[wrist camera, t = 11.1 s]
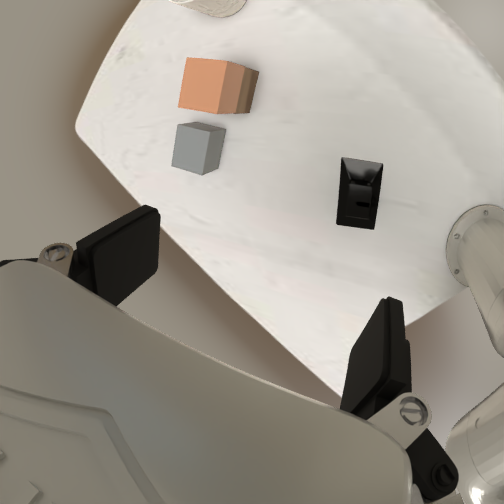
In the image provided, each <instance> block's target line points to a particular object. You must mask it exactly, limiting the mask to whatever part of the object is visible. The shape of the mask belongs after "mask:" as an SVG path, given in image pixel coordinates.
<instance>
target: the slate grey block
mask: <svg viewBox="0 0 504 504" xmlns="http://www.w3.org/2000/svg"><path fill="white" fill-rule="evenodd" d="M225 133H226V129H223V128H219V127H215V126H211V125H207V124H202V123H198V122H193V123H185V124H178V126H177V132H176V138H175V145H174V151H173V158H172V166H173V167H176V168H180V169H183V170H186V171H189V172H193V173H196V174H199V175H204V174H206V173H209V172H211V171H213V170H215V169H218V167H219V162H220V157H221V152H222V147H223V142H224V137H225Z"/></svg>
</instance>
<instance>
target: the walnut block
mask: <svg viewBox="0 0 504 504" xmlns="http://www.w3.org/2000/svg"><path fill="white" fill-rule="evenodd" d="M258 75H259V72H258V71H255V70H252V69H249V68H245V70H244V75H243V79H242V84H241V89H240V94H239V98H238V103H237V108H236V113H234V114H238V113H250V108H251V104H252V100H253V95H254V91H255V87H256V83H257V79H258Z"/></svg>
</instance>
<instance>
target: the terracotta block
mask: <svg viewBox="0 0 504 504" xmlns="http://www.w3.org/2000/svg"><path fill="white" fill-rule="evenodd" d="M244 70H245V66H242V65H239V64H236V63H232V62H229V61H223V60H213V59H202V58H188V57H187V59H186V64H185V69H184V75H183V80H182V86H181V92H180V98H179V104H178V107H179V108H185V109H191V110H197V111H203V112H208V113H214V114H226V113H236V108H237V103H238V98H239V94H240V89H241V84H242V79H243V75H244Z"/></svg>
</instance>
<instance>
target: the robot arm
mask: <svg viewBox="0 0 504 504" xmlns="http://www.w3.org/2000/svg"><path fill="white" fill-rule="evenodd" d="M484 210H485V212H484ZM160 218H161V216H160V214H159V213H158V210H157V209H156V208H153V207H151V206H148V205H143V206H141V207H139V208H137V209H135V210H133V211H132V212H130V213H128V214H126V215H124V216H122V217H120V218H118V219H117V220H115V221H113V222H111V223H109V224H108V225H106V226H104V227H102V228H100V229H99V230H97V231H95V232H93V233H92V234H90V235H88V236H86V237H85V238H83V239H81V240H80V241H78V242H77V243H76V246H77V249H76V250H75V251H73V248H72V247H71V246H70V245H69V244H65V243H54V244H51V245H49V246H47V247H45V248H44V249H43V250H42V251H41V253H40V255H39V258H31V259H17V260H3V261H1V262H0V504H464V503H463V500H462V498H463V499H464V501H465V503H466V504H504V383H502V384H501V385H500V386H499V387H498V388H497V389H496V390H495V391H493V392H492V393H491V394H490V395H489V396H488V397H486V398H485V399H484V400H483V401H482V402H480V403H479V404H478V405H477V406H475V407H474V408H473V409H472V410H471V411H469V412H468V413H467V414H466V415H464V416H463V417H462V418H461V419H460V420H459V421H458V422H457V423H456V424H455V425H454V427H453V428H452V430H451V431H450V433H449V436H448V438H447V442H446V448H445V451H444V449H443V448H442V447H441V445H440V444H439V443H438V441H437V440H436V439H435V437H434V436H433V435H432V434H431V432H430V431H429V430H428V428H427V427H428V426H429V424H430V423H431V418H432V414H431V409H430V407H429V405H428V403H427V402H426V401H425V400H424V399H423V398H422V397H421V396H419V395H417V394H415V393H412V387H411V386H412V384H411V358H410V343H409V341H408V340H406V339H405V325H404V313H403V303H402V301H400V300H397V299H394V298H392V297H387V299H384V298H382V299H381V301H380V302H379V304H378V306H377V308H376V309H375V311H374V313H373V314H372V316H371V318H370V320H369V321H368V323H367V325H366V326H365V328H364V330H363V331H362V333H361V335H360V336H359V338H358V339H357V341H356V343H355V344H354V346H353V348H352V350H351V353H350V357H349V363H348V369H347V374H346V380H345V385H344V390H343V395H342V401H341V405H340V409H338V408H335V407H332V406H330V405H327V404H324V403H322V402H319V401H317V400H314V399H311V398H308V397H306V396H303V395H300V394H297V393H295V392H293V391H290V390H288V389H285V388H282V387H280V386H278V385H275V384H272V383H270V382H268V381H265V380H263V379H260V378H258V377H256V376H253V375H251V374H249V373H246V372H244V371H241V370H239V369H237V368H235V367H233V366H230V365H228V364H226V363H224V362H222V361H219V360H217V359H215V358H213V357H211V356H208V355H206V354H204V353H202V352H200V351H198V350H196V349H194V348H192V347H190V346H188V345H186V344H184V343H182V342H180V341H178V340H176V339H174V338H172V337H170V336H168V335H166V334H165V333H163V332H161V331H159V330H157V329H155V328H153V327H151V326H149V325H148V324H146V323H144V322H142V321H140V320H139V319H137V318H135V317H133V316H132V315H129V314H128V313H126V312H125V311H123V310H121V309H119V308H117V307H116V306H117V305H118V304H120V303H121V302H122V301H123V300H124V299H125V298H127V297H128V296H129V295H130V294H131V293H132V292H134V291H135V290H136V289H137V288H138V287H139V286H140V285H142V284H143V283H144V282H145V281H146V280H147V279H149V278H150V277H151V276H152V275H154V274H155V272H156V271H157V268H158V255H159V254H158V253H159V234H160V233H159V232H160ZM455 233H457V234H456V235H455ZM446 257H447V262H448V266H449V268H450V271H451V273H452V274H453V276H454V277H455V278H456V279H457V281H459V282H460V283H461V284H463V285H465V286H467V287H470V289H471V292H472V294H473V296H474V299H475V301H476V304H477V306H478V308H479V311H480V313H481V316H482V318H483V321H484V324H485V326H486V329H487V331H488V334H489V337H490V340H491V342H492V344H493V346H494V348H495V350H496V351H497V352H498V353H499V354H500V355H501V356H502V357H503V358H504V210H502V209H501V208H499V207H496V206H493V205H483V206H478V207H475V208H473V209H471V210H469V211H468V212H466V213H465V214H464V215H463V216H462V217H461V218H459V220H458V221H457V222H456V224H455V225H454V227H453V228H452V230H451V232H450V235H449V238H448V241H447V247H446ZM455 269H456V270H455ZM455 488H457V489H458V491H459V494H456V492H455ZM461 496H462V497H461Z"/></svg>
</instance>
